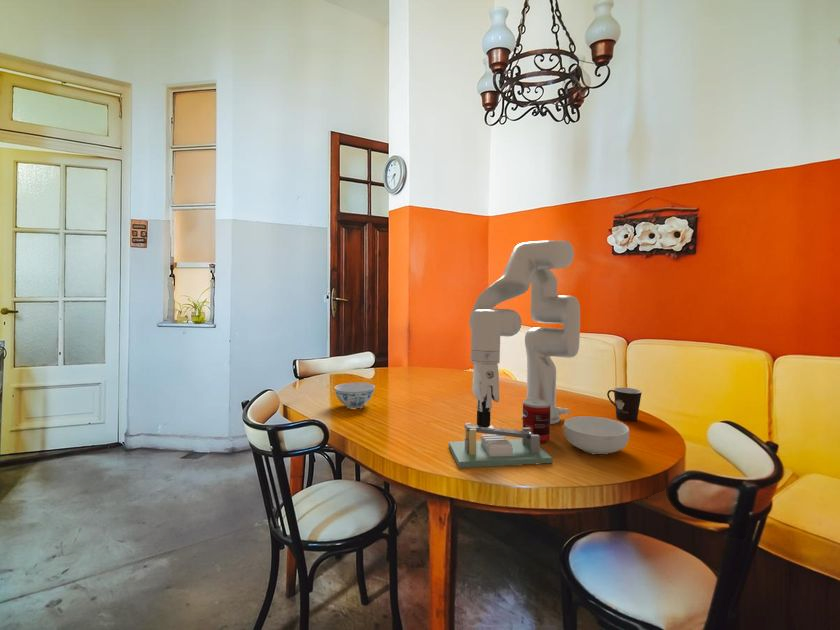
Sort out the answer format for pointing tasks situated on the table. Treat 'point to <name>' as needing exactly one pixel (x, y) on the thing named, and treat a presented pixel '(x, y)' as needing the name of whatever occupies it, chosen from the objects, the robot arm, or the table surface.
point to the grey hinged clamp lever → (500, 431)
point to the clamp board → (497, 461)
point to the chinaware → (354, 394)
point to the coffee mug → (626, 403)
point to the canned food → (537, 417)
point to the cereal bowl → (596, 434)
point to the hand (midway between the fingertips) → (483, 425)
